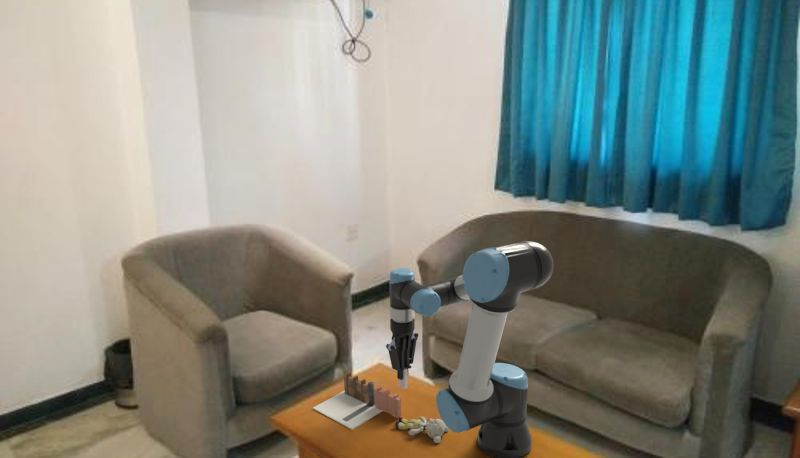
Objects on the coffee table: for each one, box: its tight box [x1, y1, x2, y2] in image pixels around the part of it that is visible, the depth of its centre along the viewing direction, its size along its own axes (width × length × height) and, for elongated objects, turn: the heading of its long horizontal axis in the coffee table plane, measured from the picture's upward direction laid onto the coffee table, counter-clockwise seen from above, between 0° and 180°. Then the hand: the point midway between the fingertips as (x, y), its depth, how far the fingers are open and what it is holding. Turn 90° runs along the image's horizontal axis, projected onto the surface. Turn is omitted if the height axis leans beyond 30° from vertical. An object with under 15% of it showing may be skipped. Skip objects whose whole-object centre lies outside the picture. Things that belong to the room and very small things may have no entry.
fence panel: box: [374, 385, 402, 419], centre depth 183 cm, size 10×1×7 cm, turn 48°
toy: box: [394, 415, 450, 444], centre depth 174 cm, size 9×6×15 cm
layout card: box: [312, 390, 385, 430], centre depth 188 cm, size 18×18×1 cm
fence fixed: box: [343, 372, 375, 406], centre depth 191 cm, size 13×2×8 cm, turn 48°
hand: (403, 386), depth 187 cm, fingers closed
